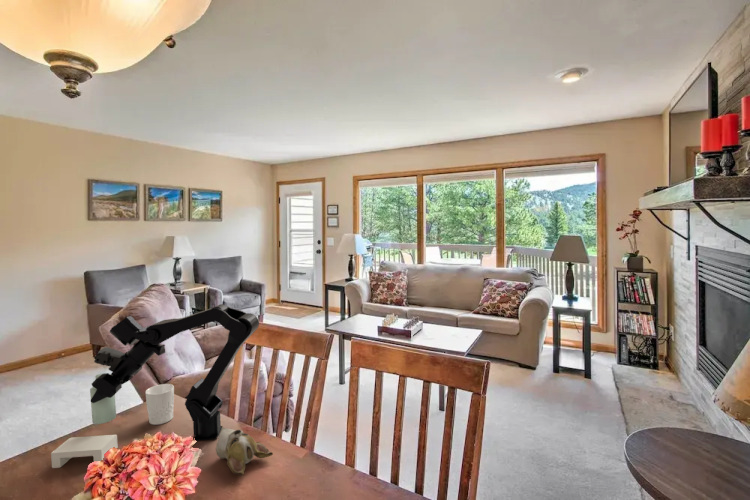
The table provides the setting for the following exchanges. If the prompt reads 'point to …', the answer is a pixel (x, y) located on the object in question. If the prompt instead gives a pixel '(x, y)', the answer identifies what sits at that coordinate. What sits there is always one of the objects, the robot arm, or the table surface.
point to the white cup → (160, 403)
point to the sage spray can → (102, 408)
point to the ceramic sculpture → (239, 449)
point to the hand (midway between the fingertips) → (97, 397)
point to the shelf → (83, 448)
